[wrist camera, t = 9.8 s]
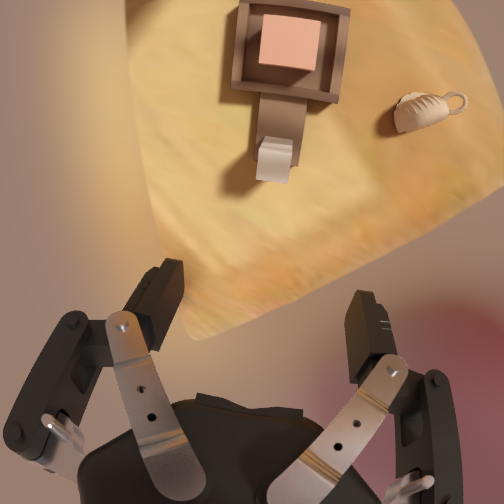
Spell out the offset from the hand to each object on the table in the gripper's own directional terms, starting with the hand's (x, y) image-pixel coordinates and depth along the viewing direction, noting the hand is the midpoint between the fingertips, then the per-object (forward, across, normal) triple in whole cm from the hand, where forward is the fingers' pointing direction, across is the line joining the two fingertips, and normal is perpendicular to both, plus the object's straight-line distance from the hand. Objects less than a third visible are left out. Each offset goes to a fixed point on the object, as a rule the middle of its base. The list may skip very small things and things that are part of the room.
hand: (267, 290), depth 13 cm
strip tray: (+23, +1, -9) cm, 25 cm away
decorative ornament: (+24, -15, -9) cm, 30 cm away
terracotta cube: (+22, +1, -12) cm, 26 cm away
